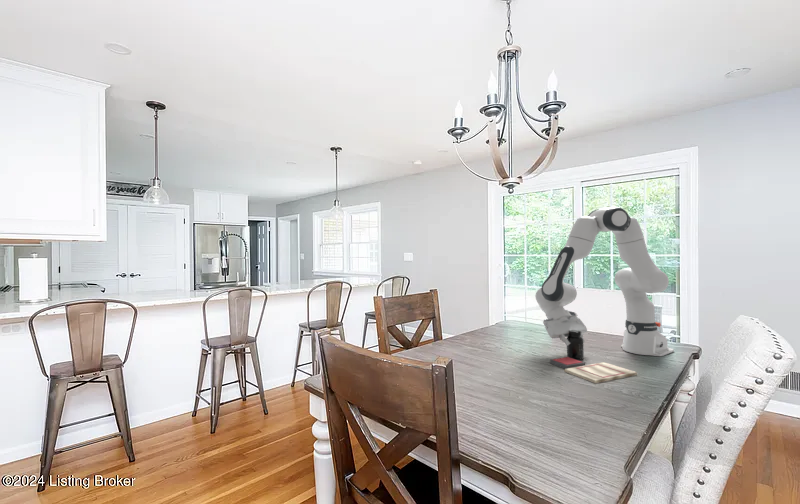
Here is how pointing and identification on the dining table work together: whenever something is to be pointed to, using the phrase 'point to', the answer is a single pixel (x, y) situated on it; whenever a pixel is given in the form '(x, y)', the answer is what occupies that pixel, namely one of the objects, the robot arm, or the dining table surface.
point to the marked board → (600, 372)
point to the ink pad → (567, 362)
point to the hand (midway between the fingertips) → (576, 343)
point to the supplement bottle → (575, 345)
